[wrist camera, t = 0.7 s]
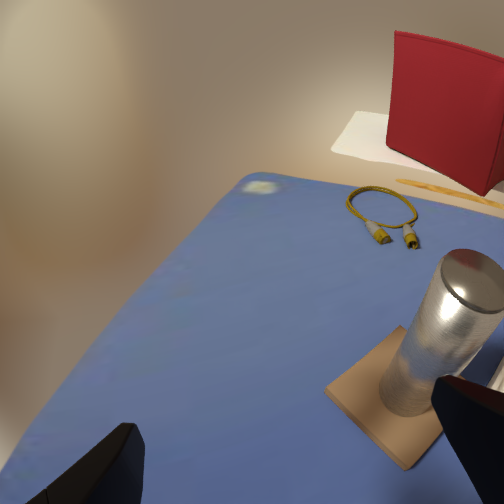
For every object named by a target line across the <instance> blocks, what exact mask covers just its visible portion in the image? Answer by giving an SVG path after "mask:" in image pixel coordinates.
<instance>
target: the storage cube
mask: <svg viewBox="0 0 504 504" xmlns="http://www.w3.org/2000/svg"><path fill="white" fill-rule="evenodd" d="M386 145H387V146H388V147H390V148H393V149H395V150H397V151H399V152H401V153H403V154H405V155H407V156H409V157H412V158H414V159H416V160H418V161H420V162H422V163H423V164H425V165H427V166H429V167H431V168H433V169H435V170H437V171H438V172H440V173H442V174H444V175H446V176H447V177H449V178H451V179H453V180H454V181H456V182H458V183H459V184H461V185H463V186H464V187H466V188H468V189H469V190H471V191H473V192H474V193H476V194H478V195H480V196H483V197H484V196H485V195H486V194H487V193H488V192H489V191H490V190H491V189H492V188H493V187H494V186H495V185H496V184H497V183H499V182H501V181H502V180H504V58H502V57H499V56H496V55H493V54H491V53H488V52H485V51H481V50H478V49H475V48H472V47H469V46H465V45H462V44H458V43H454V42H450V41H446V40H442V39H438V38H433V37H429V36H424V35H419V34H413V33H408V32H401V31H396V30H395V32H394V65H393V78H392V91H391V103H390V111H389V120H388V127H387V135H386Z"/></svg>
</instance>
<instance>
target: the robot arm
mask: <svg viewBox="0 0 504 504" xmlns="http://www.w3.org/2000/svg"><path fill="white" fill-rule="evenodd" d="M431 404H432V406H433V408H434V410H435V412H436V415H437V417H438V419H439V421H440V423H441V426H442V428H443V430H444V433H445V435H446V437H447V439H448V441H449V442H450V444H451V446H452V448H453V449H454V451H455V453H456V455H457V456H458V458H459V460H460V462H461V463H462V465H463V467H464V469H465V471H466V472H467V474H468V476H469V478H470V480H471V482H472V483H473V485H474V487H475V489H476V491H477V493H478V495H479V497H480V498H481V500H482V502H483V504H504V393H503V392H500V391H497V390H494V389H490V388H487V387H484V386H481V385H478V384H476V383H473V382H470V381H467V380H464V379H461V378H458V377H455V376H452V375H449V374H446V375H443V376H440V377H438V378H437V379H436V381H435V384H434V388H433V391H432V395H431ZM144 456H145V444H144V441H143V438H142V436H141V434H140V431H139V429H138V427H137V425H136V424H135V423H121V424H120V425H118V426H117V427H116V428H115V429H114V430H113V431H112V432H110V433H109V434H108V435H107V436H106V437H105V438H104V439H103V440H101V441H100V442H99V443H98V444H97V445H96V446H94V447H93V448H92V449H91V450H90V451H89V452H88V453H86V454H85V455H84V456H83V457H82V458H81V459H79V460H78V461H77V462H76V463H75V464H74V465H72V466H71V467H70V468H69V469H68V470H66V471H65V472H64V473H63V474H62V475H60V476H59V477H58V478H57V479H56V480H54V481H53V482H52V483H51V484H50V485H48V486H47V487H46V489H43V490H42V491H41V492H40V493H39V494H37V495H36V496H35V497H33V498H32V499H31V500H29V501H28V502H27V503H25V504H140V503H141V498H142V491H143V473H144Z"/></svg>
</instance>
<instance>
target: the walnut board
mask: <svg viewBox="0 0 504 504" xmlns="http://www.w3.org/2000/svg"><path fill="white" fill-rule="evenodd" d="M406 333H407V330H406V329H404V328H403V327H402V326H401V325H399V326H398V327H397V328H396V329H395V330H394V331H393V332H392V333H391V334H389V335H388V336H387V337H386V338H385V339H384V340H383V341H382V342H381V343H379V344H378V345H377V346H376V347H375V348H374V349H373V350H371V351H370V352H369V353H368V354H367V355H366V356H364V357H363V358H362V359H361V360H360V361H358V362H357V363H356V364H355V365H353V366H352V367H351V368H350V369H349V370H347V371H346V372H345V373H344V374H342V375H341V376H340V377H338V378H337V379H336V380H335V381H333V382H332V383H331V384H329V385H328V386H327V387H326V388H325V391H324V393H325V394H326V395H327V396H328V397H329V398H330V399H331V400H332V401H333V402H334V403H335V404H336V405H337V406H338V407H339V408H340V409H341V410H342V411H343V412H344V413H345V414H346V415H347V416H348V417H349V418H350V419H351V420H352V421H353V422H354V423H355V424H356V425H357V426H358V427H359V428H360V429H361V430H362V431H363V432H364V433H365V434H366V435H367V436H368V437H369V438H370V439H371V440H372V441H373V442H374V443H376V444H377V445H378V446H379V447H380V448H381V449H382V450H383V451H384V452H385V453H386V454H387V455H388V456H389V457H390V458H391V459H392V460H393V461H394V462H395V463H397V464H398V465H399V466H400V467H401V468H402V469H403V470H404V471H406V470H408V469H409V468H410V467H411V466H412V465H413V464H414V463H415V462H416V461H417V460H418V459H419V458H420V456H421V455H422V454H423V453H424V452H425V451H426V450H427V448H428V447H429V446H430V445H431V444H432V443H433V441H434V440H435V439H436V438H437V437H438V435H439V434H440V433H441V432H442V430H443V428H442V426H441V423H440V421H439V419H438V417H437V415H436V412H435V410H434V408H433V406H432V405H431V406H430V407H429V408H428V409H427V410H426V411H425V412H423V413H422V414H420V415H418V416H415V417H401V416H398V415H395V414H393V413H392V412H390V411H389V410H388V409H387V408H386V407H385V406H384V404H383V403H382V401H381V398H380V395H379V383H380V380H381V377H382V376H383V374H384V372H385V371H386V369H387V367H388V365H389V364H390V362H391V360H392V358H393V357H394V355H395V353H396V351H397V349H398V348H399V346H400V344H401V342H402V340H403V338H404V336H405V334H406ZM458 378H461V379H464V378H463V377H462V376H461V375H459V376H458ZM464 380H466V379H464Z"/></svg>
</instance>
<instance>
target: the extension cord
mask: <svg viewBox="0 0 504 504" xmlns="http://www.w3.org/2000/svg"><path fill="white" fill-rule="evenodd" d="M366 188H370V189H366ZM373 188H378V189H373ZM361 189H363V190H361ZM381 189H384V190H381ZM359 190H360V191H359ZM369 190H375V191H381V192H385V193H388V194H391V195H393V196H396V197H398V198H399V199H401V200H402V201H404V202H405V203H406V204H407V205H408V206H409V208H410V209H411V210H412V212H413V213H414V218H413V219H411V220H409V221H408V222H406V223H404V224H401V225H397V226H390V225H385V224H381V223H377V222H374V221H371V220H368V219H366V218H364V217H363V216H362V215H361V214H360V213H359V212H357V211H356V210H355V209H354V208H353V206H352V205H351V204H350V201H349V200H350V199H351V198H352V197H353V196H355V195H356V194H358V193H360V192H363V191H369ZM385 190H387V191H385ZM357 191H358V192H357ZM388 191H390V192H388ZM355 192H356V193H355ZM391 192H392V193H391ZM352 194H353V195H352ZM348 204H349V206H350V207H351V209H352V210H353V211H354V212H353V211H352V210H351V209H350V208H349V206H348ZM346 207H347V209H348V210H349V211H350V212H351V213H352V214H354V215H355V216H357V217H358V218H360V219H362V220H364V221H365V222H366V223H365V226H366V227H367V229H368V231H369V233H370V234H371V236H372V237H373V238H374V239H375V240H376V241H377V242H378V243H379V244H380V245H381V244H384V243H388V242H390V241H391V239H390V236H389V235H388V234H387V233H386V232H385V231H384V230H383V229H382V228H381V226H384V227H388V228H399V227H402V226H403V239H404V241H405V242H406V244H407V247H408V249H410V247H409V245H410V244H409V243H411V246H412V248H413V249H416V248H417V246H418V243H417V240H416V233H415V231H414V230H413V229H412V228H411V227H412V226H413V225H414V224H415V223H413V224H411V225H409V223H410V222H412V221H414V220H415V219H416V218H417V213H416V210H415V208H414V207H413V205H412V204H411V203H410V202H409V201H408V200H407V199H405V198H404V197H403V196H401V195H400V194H398V193H396V192H394V191H392V190H390V189H387V188H383V187H377V186H367V187H361V188H358V189H356V190H354V191H353V192H351V194H350V195H349V196H348V198H347V200H346Z"/></svg>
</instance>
